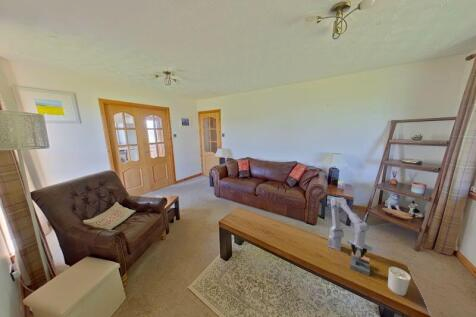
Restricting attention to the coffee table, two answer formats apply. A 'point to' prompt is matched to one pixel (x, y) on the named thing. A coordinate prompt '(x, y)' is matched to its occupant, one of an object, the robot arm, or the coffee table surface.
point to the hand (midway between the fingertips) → (357, 255)
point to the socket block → (360, 265)
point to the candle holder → (398, 280)
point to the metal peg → (358, 253)
